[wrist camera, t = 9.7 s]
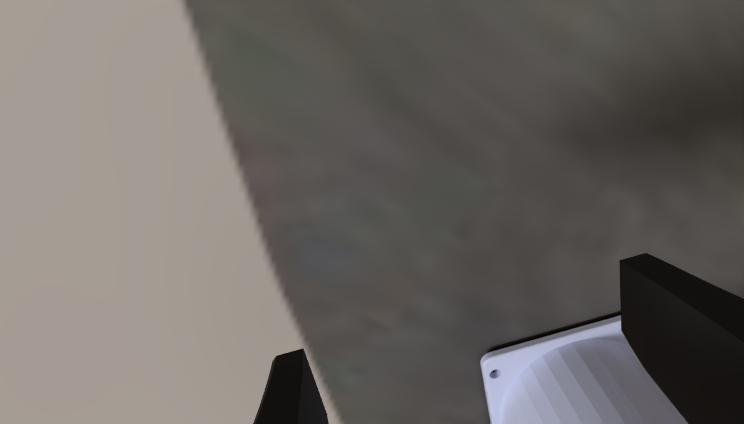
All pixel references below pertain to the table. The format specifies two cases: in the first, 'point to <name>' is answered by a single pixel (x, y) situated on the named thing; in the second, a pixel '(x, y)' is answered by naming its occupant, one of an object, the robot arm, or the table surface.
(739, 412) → the robot arm
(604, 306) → the table surface
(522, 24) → the table surface
